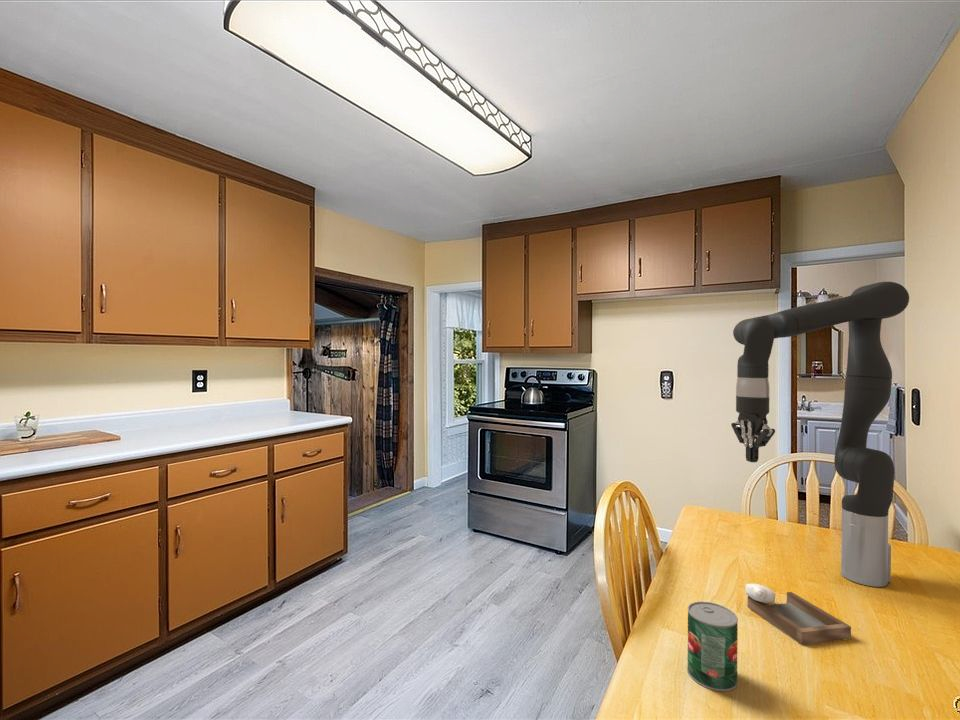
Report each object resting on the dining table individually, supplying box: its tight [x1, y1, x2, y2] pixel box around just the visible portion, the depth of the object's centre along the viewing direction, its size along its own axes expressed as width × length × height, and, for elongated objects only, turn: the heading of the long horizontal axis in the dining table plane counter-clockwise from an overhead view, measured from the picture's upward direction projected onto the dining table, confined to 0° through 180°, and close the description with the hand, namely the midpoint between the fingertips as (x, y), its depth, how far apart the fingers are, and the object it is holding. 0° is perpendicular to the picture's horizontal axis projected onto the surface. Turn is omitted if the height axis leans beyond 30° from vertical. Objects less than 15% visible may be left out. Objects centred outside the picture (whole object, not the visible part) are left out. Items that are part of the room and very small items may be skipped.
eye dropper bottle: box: [744, 583, 776, 604], centre depth 104 cm, size 4×6×12 cm
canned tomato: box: [686, 601, 739, 692], centre depth 83 cm, size 8×8×11 cm
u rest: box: [747, 591, 852, 646], centre depth 100 cm, size 11×14×2 cm
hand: (751, 461), depth 123 cm, fingers closed
